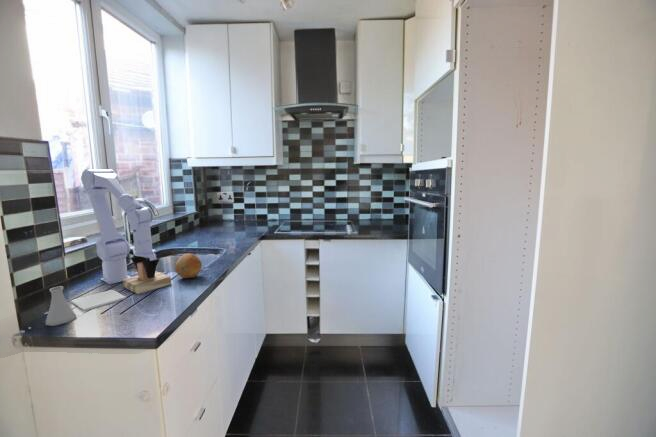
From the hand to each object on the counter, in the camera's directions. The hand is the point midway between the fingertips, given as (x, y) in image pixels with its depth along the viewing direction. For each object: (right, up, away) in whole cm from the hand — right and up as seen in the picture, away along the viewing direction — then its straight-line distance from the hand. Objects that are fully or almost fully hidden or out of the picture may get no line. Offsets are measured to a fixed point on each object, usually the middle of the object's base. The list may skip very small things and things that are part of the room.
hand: (146, 275), depth 119 cm
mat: (-9, -6, -13) cm, 16 cm away
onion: (+12, -3, +9) cm, 15 cm away
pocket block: (0, -4, +1) cm, 4 cm away
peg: (0, -4, +1) cm, 4 cm away
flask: (-9, -9, -27) cm, 30 cm away
